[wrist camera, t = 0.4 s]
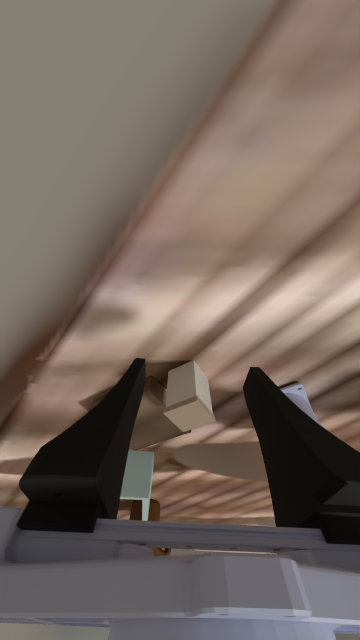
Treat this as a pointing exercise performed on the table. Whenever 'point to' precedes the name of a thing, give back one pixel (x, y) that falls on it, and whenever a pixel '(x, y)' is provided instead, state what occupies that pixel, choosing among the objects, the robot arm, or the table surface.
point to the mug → (152, 516)
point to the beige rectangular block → (188, 397)
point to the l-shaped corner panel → (138, 479)
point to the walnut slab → (152, 418)
